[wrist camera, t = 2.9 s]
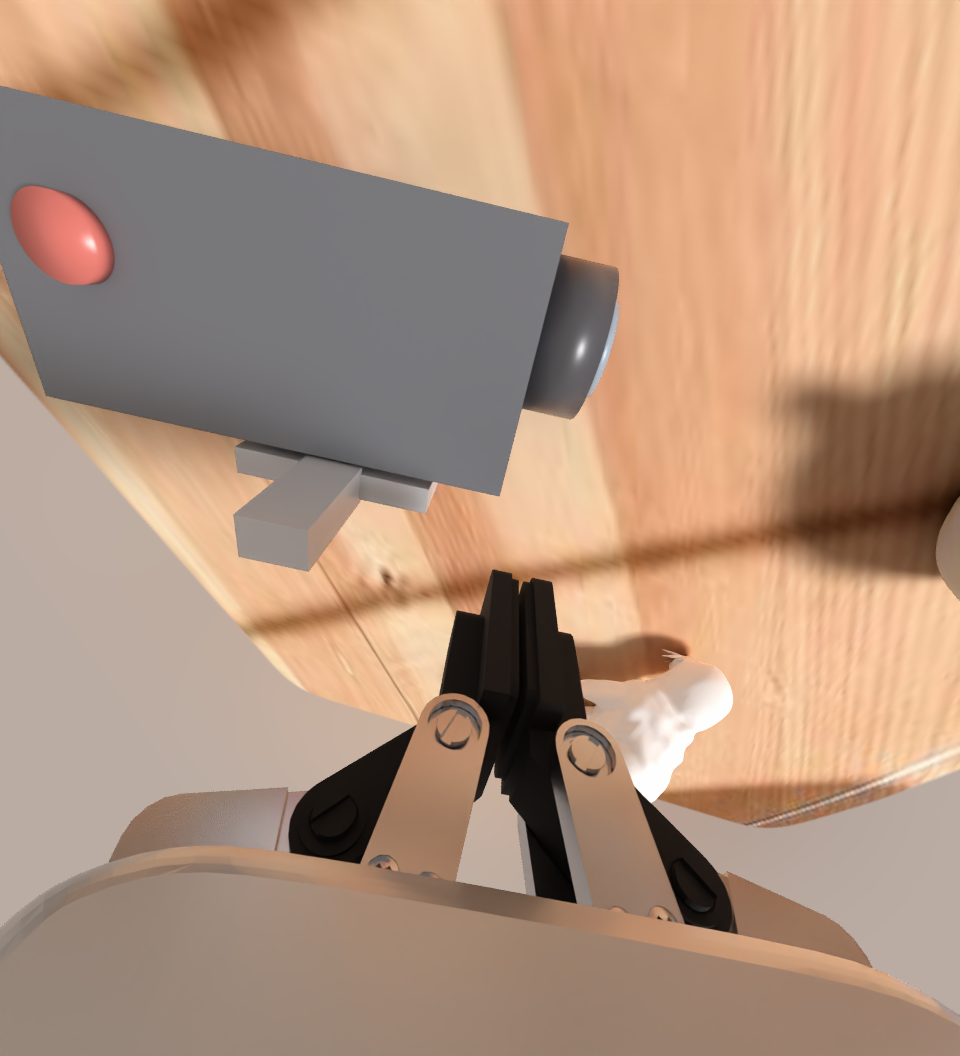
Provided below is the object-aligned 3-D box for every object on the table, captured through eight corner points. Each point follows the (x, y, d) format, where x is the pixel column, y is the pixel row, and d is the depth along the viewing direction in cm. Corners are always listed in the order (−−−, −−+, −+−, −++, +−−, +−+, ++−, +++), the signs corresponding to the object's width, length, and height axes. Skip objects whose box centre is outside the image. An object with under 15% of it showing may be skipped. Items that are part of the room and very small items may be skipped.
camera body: (610, 258, 17) (666, 243, 10) (552, 446, 21) (565, 521, 14) (152, 148, 16) (-97, 58, 10) (187, 363, 20) (29, 401, 14)
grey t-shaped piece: (456, 427, 21) (399, 550, 11) (451, 453, 21) (394, 590, 12) (316, 395, 20) (139, 493, 11) (316, 423, 21) (150, 537, 12)
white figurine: (534, 808, 22) (765, 729, 19) (521, 681, 30) (684, 609, 26) (587, 860, 24) (798, 797, 21) (562, 730, 32) (716, 670, 29)
